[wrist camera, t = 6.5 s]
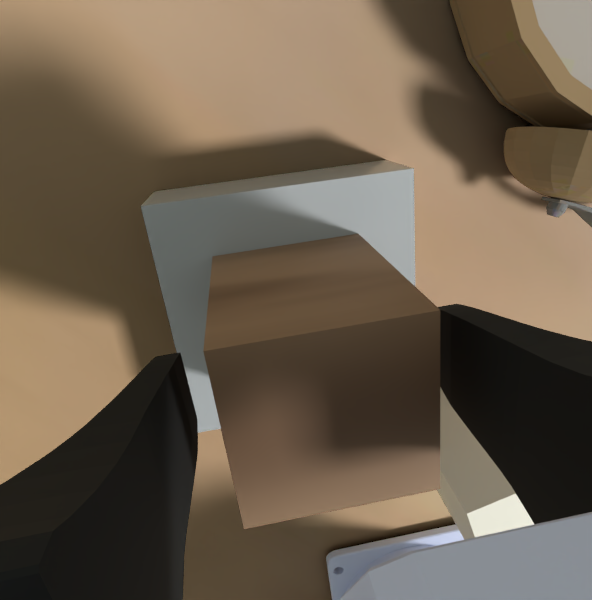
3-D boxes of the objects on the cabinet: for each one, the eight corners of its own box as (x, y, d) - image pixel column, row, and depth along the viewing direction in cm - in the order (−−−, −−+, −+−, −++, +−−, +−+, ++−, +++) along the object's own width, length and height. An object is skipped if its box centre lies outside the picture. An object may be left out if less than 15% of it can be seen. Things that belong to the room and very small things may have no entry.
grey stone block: (390, 353, 20) (416, 393, 17) (201, 385, 19) (196, 432, 16) (382, 158, 17) (413, 168, 14) (155, 189, 16) (140, 206, 13)
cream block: (516, 437, 22) (613, 547, 16) (428, 474, 22) (495, 596, 17) (497, 363, 20) (599, 458, 15) (401, 403, 20) (466, 513, 15)
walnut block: (367, 359, 16) (440, 489, 11) (238, 382, 16) (244, 529, 10) (358, 233, 14) (440, 310, 9) (212, 256, 14) (203, 351, 8)
